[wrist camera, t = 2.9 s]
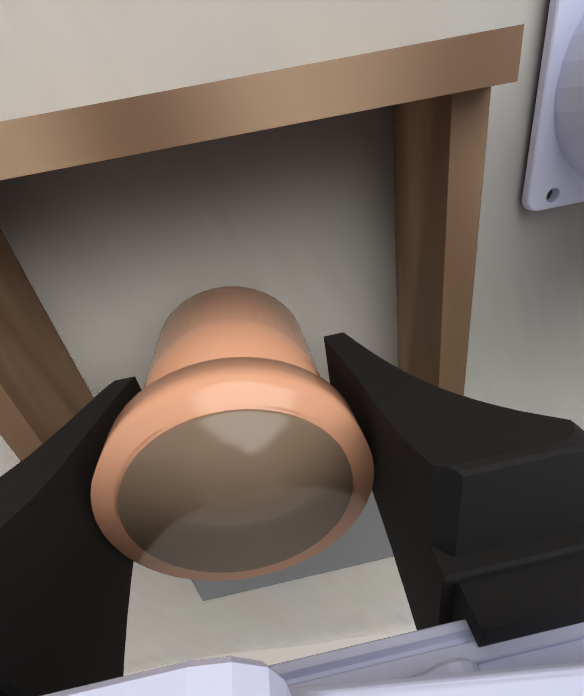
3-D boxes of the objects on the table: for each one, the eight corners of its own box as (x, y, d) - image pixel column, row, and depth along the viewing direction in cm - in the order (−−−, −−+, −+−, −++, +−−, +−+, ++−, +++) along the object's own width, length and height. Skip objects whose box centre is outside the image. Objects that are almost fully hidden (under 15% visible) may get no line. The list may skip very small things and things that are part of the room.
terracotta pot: (303, 256, 12) (367, 357, 7) (324, 401, 15) (380, 549, 10) (116, 296, 11) (28, 434, 6) (176, 435, 14) (151, 608, 9)
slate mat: (400, 449, 21) (401, 451, 21) (402, 551, 26) (403, 553, 26) (152, 505, 21) (151, 508, 21) (203, 598, 26) (203, 601, 26)
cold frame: (422, 60, 12) (524, 24, 8) (418, 411, 20) (469, 488, 16) (-78, 154, 12) (-255, 169, 7) (115, 478, 19) (83, 577, 15)
